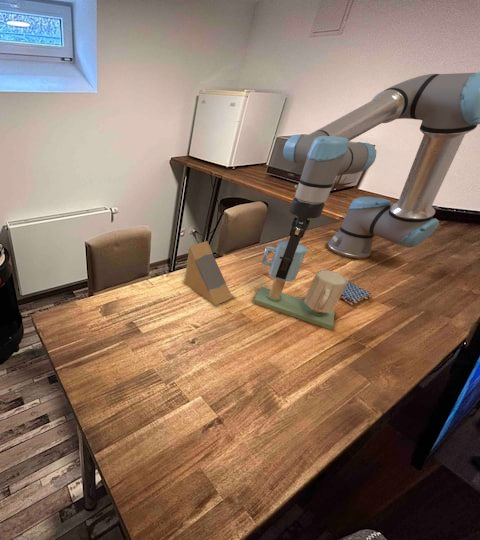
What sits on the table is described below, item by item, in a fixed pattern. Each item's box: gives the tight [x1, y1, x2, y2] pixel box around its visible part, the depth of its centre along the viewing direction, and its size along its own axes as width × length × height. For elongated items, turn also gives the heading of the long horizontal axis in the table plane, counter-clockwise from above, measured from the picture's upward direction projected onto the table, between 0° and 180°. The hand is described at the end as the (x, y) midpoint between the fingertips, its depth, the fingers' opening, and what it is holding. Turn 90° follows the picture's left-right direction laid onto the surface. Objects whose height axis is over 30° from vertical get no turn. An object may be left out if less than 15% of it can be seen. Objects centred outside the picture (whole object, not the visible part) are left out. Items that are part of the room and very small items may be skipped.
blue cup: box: [261, 239, 308, 283], centre depth 88 cm, size 8×10×10 cm
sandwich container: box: [184, 240, 233, 306], centre depth 97 cm, size 9×15×15 cm, turn 31°
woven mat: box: [339, 280, 372, 306], centre depth 99 cm, size 10×11×2 cm
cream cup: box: [303, 269, 348, 313], centre depth 84 cm, size 8×10×10 cm
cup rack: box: [253, 278, 336, 331], centre depth 90 cm, size 9×22×14 cm, turn 56°
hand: (282, 271), depth 90 cm, fingers closed on blue cup, 8 cm apart
